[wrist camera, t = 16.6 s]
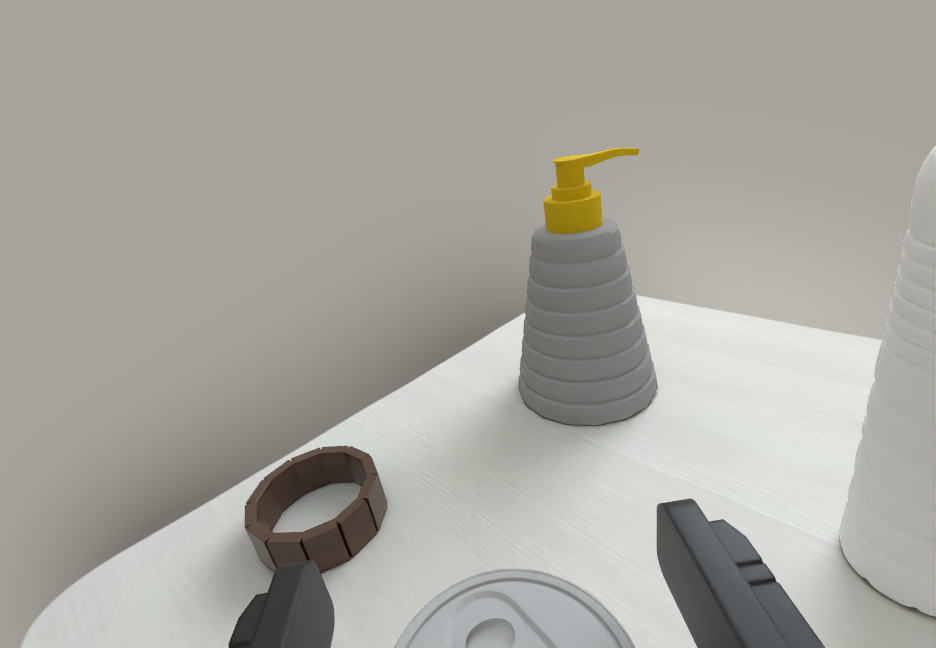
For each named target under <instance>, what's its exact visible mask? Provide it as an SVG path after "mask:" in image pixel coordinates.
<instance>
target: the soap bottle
mask: <svg viewBox="0 0 936 648" xmlns="http://www.w3.org/2000/svg"><path fill="white" fill-rule="evenodd" d="M638 153H639V148H614V149H609V150H605V151H601V152H597V153H593V154H587V155H572V156H566V157H561V158H557V159H554V160H553V162H554V163H556V175H557V185H555V186H553V187H552V188H551V191H552V195H551V196H549V197H547V198H545V199H544V210H545V219H546V224H544V225H543V226H541V227H539V228H537V229H536V230H535V232H534V234H533V236H532V244H531V251H532V254H531V256H530V265H529V273H530V276H529V278H528V287H527V294H528V297H527V299H526V309H525V314H526V317H525V320H524V337H523V340H522V357H521V363H520V371H521V372H520V376H519V390H520V392H521V395H522V397H523V399H524V401H525V403H526V405H527V406H528V407H530V408H531V409H532V410H534V411H535V412H537V413H538V414H539V415H541V416H542V417H544V418H548V419H551V420H555V421H558V422H562V423H565V424H569V425H601V424H606V423H610V422H614V421H619V420H623V419H627V418H628V417H630V416H632V415H634V414H635V413H637V412H639V411H640V410H642V409H644V408H646V407H647V405H648V404H649V402H650V401H651V399H652V397H653V396H654V394H655V393H656V391H657V389H658V387H657V380H656V374H655V369H654V365H653V362H652V359H651V354H650V349H649V344H648V343H647V338H646V334H645V329H644V325H642V318H641V314H640V309H639V306H638V305H637V299H636V294H635V289H634V286H632V279H631V275H630V270H629V266H628V265H627V261H626V255H625V250H624V246H623V244H621V236H620V231H619V227H618V224H617V223H616V222H615V221H613V220H611V219H609V218H605V217H602V207H601V192H599V191H596V190H592V189H591V182H590V181H584V167H589V166H592V165H594V164H597V163H599V162H602V161H605V160H607V159H610V158H613V157H617V156H625V155H638Z"/></svg>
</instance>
